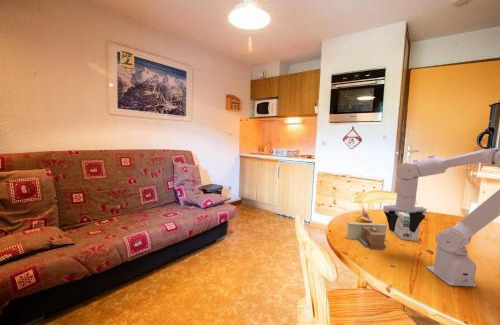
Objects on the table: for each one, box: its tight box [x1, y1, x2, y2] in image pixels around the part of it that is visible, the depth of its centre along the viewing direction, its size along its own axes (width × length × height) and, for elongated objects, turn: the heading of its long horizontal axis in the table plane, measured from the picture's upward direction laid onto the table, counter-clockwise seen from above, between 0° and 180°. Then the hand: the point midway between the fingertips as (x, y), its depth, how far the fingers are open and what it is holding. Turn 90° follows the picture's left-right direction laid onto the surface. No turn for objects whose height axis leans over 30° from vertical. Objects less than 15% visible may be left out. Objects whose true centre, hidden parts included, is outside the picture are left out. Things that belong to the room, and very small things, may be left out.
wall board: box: [346, 221, 388, 249], centre depth 94 cm, size 9×16×7 cm, turn 90°
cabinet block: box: [361, 226, 386, 250], centre depth 92 cm, size 8×5×7 cm, turn 0°
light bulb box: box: [393, 212, 421, 242], centre depth 102 cm, size 11×7×11 cm, turn 168°
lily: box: [355, 202, 373, 223], centre depth 117 cm, size 12×12×10 cm
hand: (401, 231), depth 84 cm, fingers open, 7 cm apart
